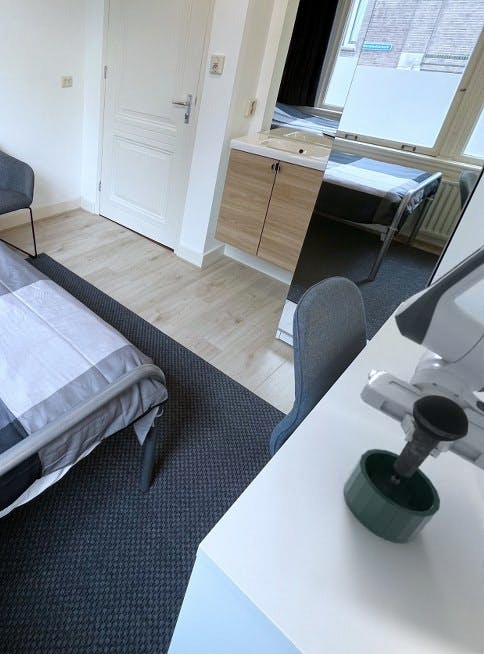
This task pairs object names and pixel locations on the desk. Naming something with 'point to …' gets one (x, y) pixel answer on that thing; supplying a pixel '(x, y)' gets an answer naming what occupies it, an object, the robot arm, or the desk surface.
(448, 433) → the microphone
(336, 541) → the desk surface
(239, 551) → the desk surface
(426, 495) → the tin
